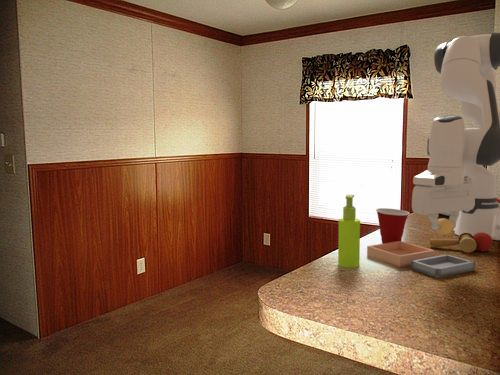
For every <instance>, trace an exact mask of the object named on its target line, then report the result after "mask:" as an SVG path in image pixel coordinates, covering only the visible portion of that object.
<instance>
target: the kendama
mask: <svg viewBox="0 0 500 375" xmlns="http://www.w3.org/2000/svg"><path fill="white" fill-rule="evenodd" d="M429 242H430V244H429V245H430V249H434V248H442V247H450V246H451V247H452V246H453V247H454V246H457V245H459V248H460V250H461V251H462V252H464V253H473V252H474V251H475V250H476V251H477V252H487V251H489V250H491V248H492V247H493V244H494V240H492V238H491V236H490V235H488V234H487V233H483V232H480V233H476V234H475V235H474V236H473V235H472V234H470V233H468V232H463V233H461V234H460V235H458V238H457V239H456V238H455V239H454V238H429Z"/></svg>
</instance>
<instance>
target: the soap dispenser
mask: <svg viewBox="0 0 500 375" xmlns="http://www.w3.org/2000/svg"><path fill="white" fill-rule="evenodd" d="M354 198H355V195H354V194H346V195H345V200H346V203H345V204H346V205H345V206H343V207H342V208H343V209H342V210H343V211H342V213H343V214H342V216H343V217H342V218H339V219H338V239H337V240H338V243H337V244H338V249H337V250H338V253H337V254H338V256H337V258H338V262H337V263H338V266H339V267H342V268H345V269H346V268H348V269H353V268H354V269H355V268H358V267H360V257H361V256H360V252H361V250H360V248H361V247H360V245H361V244H360V243H361V242H360V241H361V240H360V239H361V238H360V237H361V234H360V233H361V219H358V218H356V215H357V214H356V207H355V206H354V205H353V199H354Z"/></svg>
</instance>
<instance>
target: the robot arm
mask: <svg viewBox="0 0 500 375" xmlns="http://www.w3.org/2000/svg"><path fill="white" fill-rule="evenodd" d="M433 54H434V55H433V63H434V64H433V65H434V67H435V71H437V73H439V74H440V87H441V89H442V91H443V92H444V93H445V95H447V96H449V97H450V98H452V99H454V100H457V101H460V111H461V113H462V115H463V116H464V117H466V118H468V119H471V120H472V121H473V122H474V123H476V125H477V127H467V128H465V120H464V118H463V117H462V116H459V115H443V116H437V117H435V118H433V119H432V121H431V125H430V130H429V137H428V138H427V147H426V148H427V150H426V151H427V152H426V153H427V155H428V156H429V159H428V160H429V161H428V164H427V169H426V170H424V171H422V172H421V173H419V174H417V175H414V176H413V179H412V183H413V185H415V186H414V187H413V189H412V192H411V194H412V195H411V209H412V211H413V213H414V214H417V215H421V216H422V215H423V216H425V215H428V219H429V221H430V223H431V226H430V228H431V229H432V230H433V231H434V230H435V231H436V230H439V229H440V228H441V227H440V226H441V223H438V220H439V219H438V217H439V214H440V213H445V212H449V214H451V215H450V216H449V218H448V220H449V221H450V222H451V223H452V226H453V228H452V231H454V234H455V235H457V236H459V235H460V234H461V233H463V232H468V233H470V234H472V235H473V236H474V235H475V234H476V233H480V232H483V233H487V234H488V235H490V236H491V238H492V241H494V240H495V241H500V208H499V207H500V206H499V204H500V197H497V177H496V174H494V172H493V171H492V170H489V169H488V168H485V167H486V166H487V167H491V166H493V165H495V164H497V163H498V162H500V111H499V106H498V99H497V89H496V88H497V86H496V84H497V83H496V76H495V71H496V70H498V68H499V67H500V32H491V33H488V34H487V33H485V34H478V35H477V34H475V35H472V36H471V35H470V36H469V35H462V36H458V37H456V38H454V39H453V40H452V41H450V42H449V41H446V42H444V43H441V44H439V45H438V46H437V47H436V48H435V50H434V53H433Z"/></svg>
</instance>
